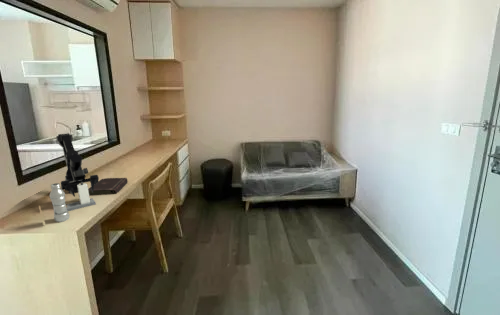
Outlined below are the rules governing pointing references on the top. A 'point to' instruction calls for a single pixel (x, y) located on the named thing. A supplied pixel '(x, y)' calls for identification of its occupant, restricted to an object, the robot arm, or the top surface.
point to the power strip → (77, 205)
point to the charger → (83, 193)
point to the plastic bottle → (58, 203)
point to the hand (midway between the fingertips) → (84, 194)
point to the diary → (108, 186)
